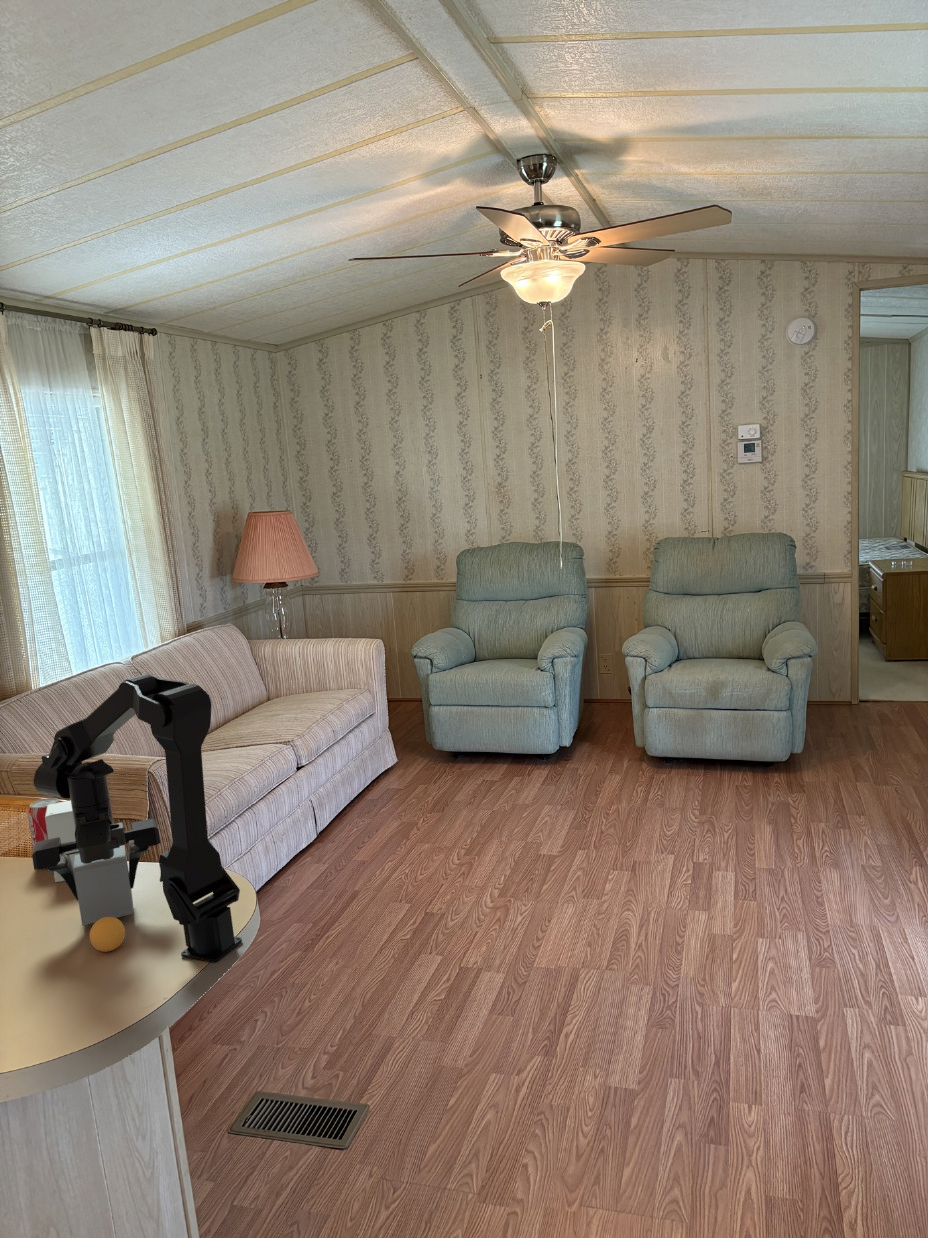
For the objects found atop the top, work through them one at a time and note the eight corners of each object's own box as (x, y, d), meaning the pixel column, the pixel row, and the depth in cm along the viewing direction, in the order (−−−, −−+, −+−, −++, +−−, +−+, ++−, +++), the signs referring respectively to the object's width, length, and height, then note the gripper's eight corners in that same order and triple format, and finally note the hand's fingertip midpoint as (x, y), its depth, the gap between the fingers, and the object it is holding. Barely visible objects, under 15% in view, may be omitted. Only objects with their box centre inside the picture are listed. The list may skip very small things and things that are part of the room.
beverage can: (58, 870, 177) (48, 808, 175) (29, 870, 178) (18, 808, 176) (78, 856, 183) (68, 796, 181) (49, 856, 184) (39, 796, 182)
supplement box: (98, 874, 173) (87, 808, 171) (54, 883, 171) (43, 816, 169) (99, 860, 180) (89, 796, 178) (57, 868, 177) (46, 803, 175)
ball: (130, 923, 143) (133, 933, 147) (103, 906, 143) (106, 916, 147) (108, 952, 140) (111, 962, 144) (80, 934, 140) (84, 944, 144)
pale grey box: (132, 895, 159) (124, 844, 157) (134, 913, 152) (125, 861, 150) (83, 906, 156) (74, 855, 155) (82, 925, 149) (73, 872, 148)
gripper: (23, 830, 140) (39, 929, 143) (155, 804, 146) (169, 899, 149) (28, 807, 150) (43, 900, 153) (151, 784, 157) (164, 873, 159)
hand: (105, 893), depth 153 cm, fingers closed on pale grey box, 8 cm apart
